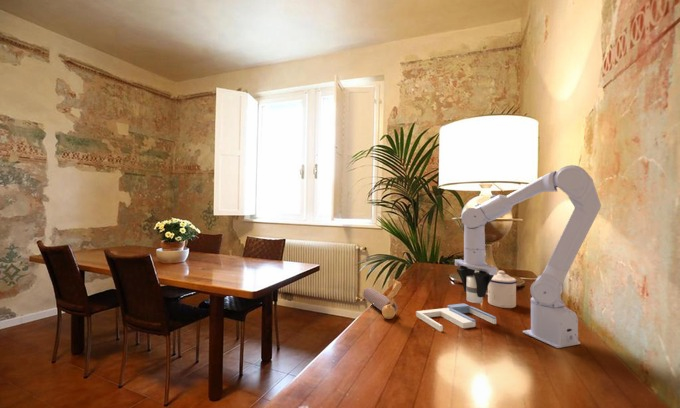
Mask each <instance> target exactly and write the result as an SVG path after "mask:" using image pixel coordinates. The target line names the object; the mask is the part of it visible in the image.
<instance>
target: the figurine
mask: <svg viewBox="0 0 680 408" xmlns="http://www.w3.org/2000/svg"><path fill="white" fill-rule="evenodd" d="M392 284H393V285H392V289H391V291H390V292H389V293H388V294H387V296H386V297H387V298H388V299H389V301H390V302H391V303H390V304H389V305H386V306H384V307H383V309H382V311H381V313H382V316H383V317H384V318H385V319H387V320H390V319H393V318H394V317H395V315H396V314H395V309H394V307H393V306H392V304H393V303H394V302H395V298H394V297H395V296H397V294H398V293H399V290H400V289H401V288H402V283H401V281H398V280H397V279H395V278H392ZM392 301H393V302H392Z"/></svg>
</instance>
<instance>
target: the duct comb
mask: <svg viewBox="0 0 680 408" xmlns="http://www.w3.org/2000/svg"><path fill="white" fill-rule="evenodd" d="M466 314H471V315H474V316H475V317H478V318H481V319H483V320H485V321H487V322H489V323H491V324H493V325H497V317H496V316H494V315H492V314H491V313H488V312H485V311H483V310H480V309H479V308H477V307H474V306H470V305H468V304H466V303H464V302H463V303H457V304H456V303H454V304H448V305H447V304H446V307H443V308H436V309H435V308H434V309H425V310H424V309H423V310H416V311H415V316H416V317H417V318H418V319H420V320H422V321H423V322H424V323H426V324H427V325H429V326H431V327H432V328H434V329H435V330H437V331H438V332H443V331H444V330H443V329H444V326H443V324H440V322H437V321H435V320H434V319H432V318H434V317H435V318H436V317H442V318H443V319H445V320H447V321H449V322H451V323H452V324H454V325H456V326H458V327H459V328H462V329H469V328H475V327H476V319H474V318H472V317H470V316H468V315H466Z"/></svg>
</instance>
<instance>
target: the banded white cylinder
mask: <svg viewBox="0 0 680 408" xmlns="http://www.w3.org/2000/svg"><path fill="white" fill-rule="evenodd" d="M465 293H466V301H467V302H469V303H474V304H482V303H483V301H484V297H478V296H477V285H476V280H475V277H474V275H473V276H466V292H465Z"/></svg>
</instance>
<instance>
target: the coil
mask: <svg viewBox="0 0 680 408" xmlns="http://www.w3.org/2000/svg"><path fill="white" fill-rule="evenodd" d="M362 297H363V299H364V300H366V301H367V302H369V303H370V304H372V306H373V307H375V308H377V309H378V310H380V311H381V312H382V309H383V307H384V306H386V305H389V304H390V303H391V302H390V301H389V299H388V298H387V296H386V295H384V294H382V293H381V292H379V291H378V290H376V289H374V288H373V287H366V288H365V289H364V290H363V291H362ZM392 302H393V301H392ZM373 303H374V304H373ZM392 306H393V307H394V309H395V315H396V314H397V312H398V309H399V307H398V304H397V303H396V301H394V303H393V304H392Z"/></svg>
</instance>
